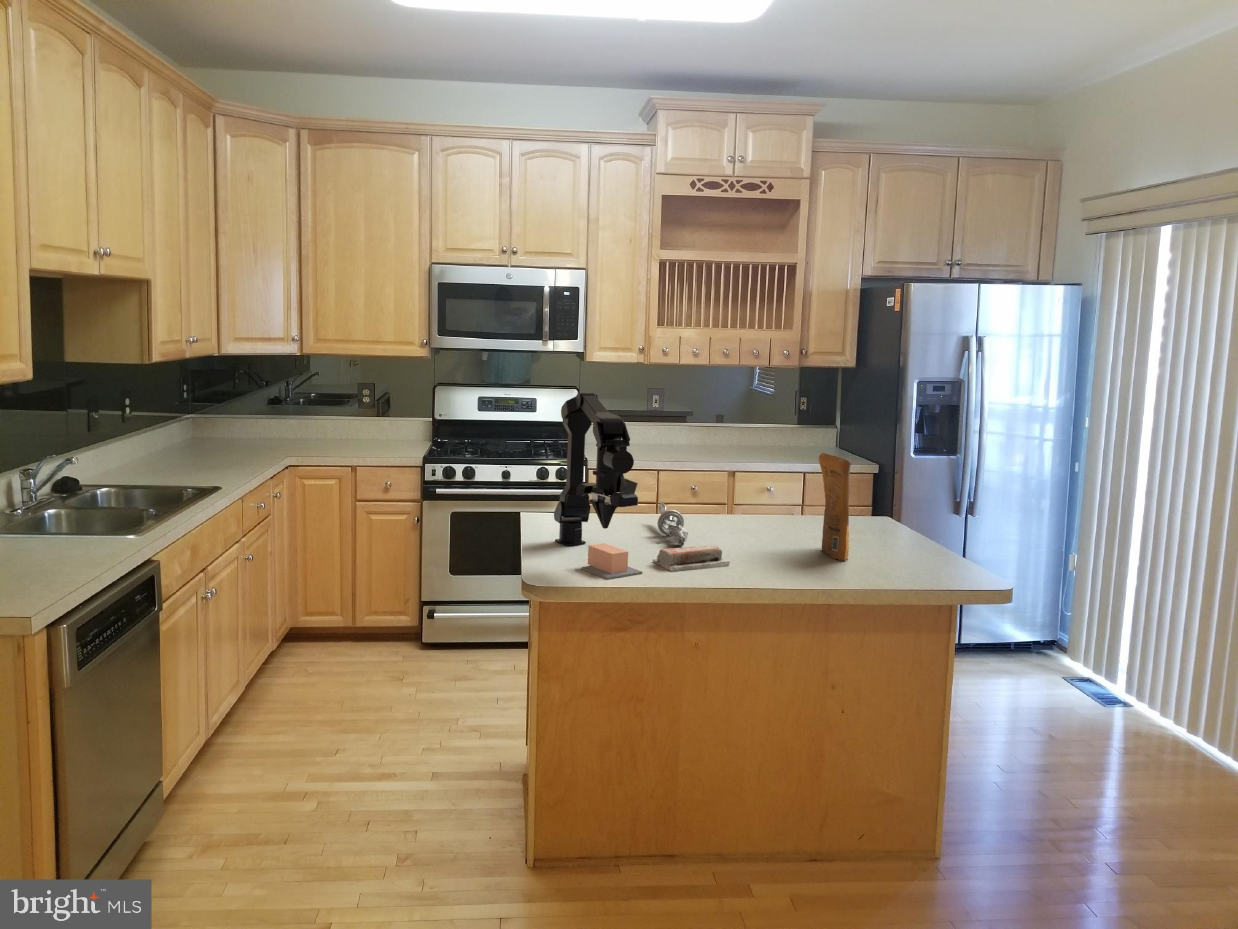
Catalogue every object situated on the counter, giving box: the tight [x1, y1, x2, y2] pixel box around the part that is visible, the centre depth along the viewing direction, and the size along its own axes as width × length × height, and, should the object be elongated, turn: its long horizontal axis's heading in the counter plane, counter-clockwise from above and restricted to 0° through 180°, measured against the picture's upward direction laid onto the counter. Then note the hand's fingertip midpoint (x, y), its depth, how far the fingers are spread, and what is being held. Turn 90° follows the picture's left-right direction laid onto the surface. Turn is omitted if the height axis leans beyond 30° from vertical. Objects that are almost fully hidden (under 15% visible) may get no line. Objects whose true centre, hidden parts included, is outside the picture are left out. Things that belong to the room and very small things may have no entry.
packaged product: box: [652, 545, 731, 572], centre depth 261 cm, size 18×5×10 cm
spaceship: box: [657, 502, 689, 547], centre depth 292 cm, size 8×35×8 cm
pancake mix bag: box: [818, 452, 852, 562], centre depth 277 cm, size 7×19×28 cm, turn 6°
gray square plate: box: [580, 565, 643, 580], centre depth 250 cm, size 11×11×1 cm
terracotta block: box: [587, 542, 629, 574], centre depth 251 cm, size 5×5×10 cm
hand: (605, 528), depth 251 cm, fingers closed
